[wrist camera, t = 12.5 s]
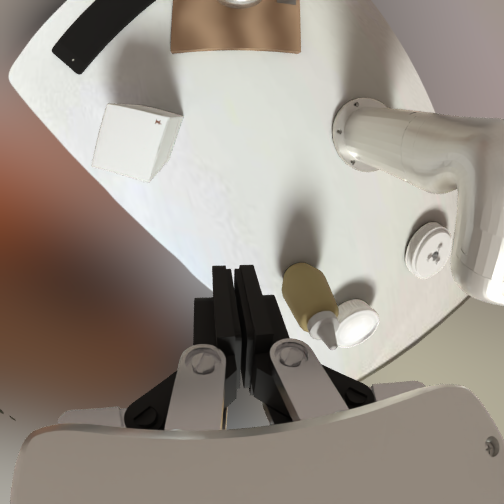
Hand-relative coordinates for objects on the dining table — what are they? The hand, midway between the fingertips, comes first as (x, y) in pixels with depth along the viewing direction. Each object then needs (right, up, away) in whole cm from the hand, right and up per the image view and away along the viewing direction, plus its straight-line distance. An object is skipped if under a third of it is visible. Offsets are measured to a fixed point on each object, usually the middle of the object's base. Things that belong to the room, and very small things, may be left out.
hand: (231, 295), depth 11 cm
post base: (-1, +38, +14) cm, 41 cm away
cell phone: (-21, +37, +13) cm, 44 cm away
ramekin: (+22, -12, +46) cm, 53 cm away
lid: (+39, +3, +40) cm, 56 cm away
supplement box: (-13, +19, +23) cm, 33 cm away
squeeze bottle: (+9, -2, +39) cm, 40 cm away
